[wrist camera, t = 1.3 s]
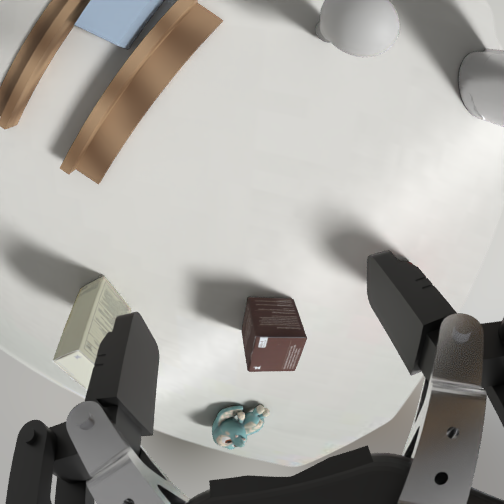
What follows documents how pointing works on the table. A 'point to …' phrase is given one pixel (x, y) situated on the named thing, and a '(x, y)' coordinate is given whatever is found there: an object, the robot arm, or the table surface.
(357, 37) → the lightbulb
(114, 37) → the block
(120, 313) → the skincare box
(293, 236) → the table surface
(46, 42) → the chute
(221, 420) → the stuffed animal
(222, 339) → the table surface
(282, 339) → the box
